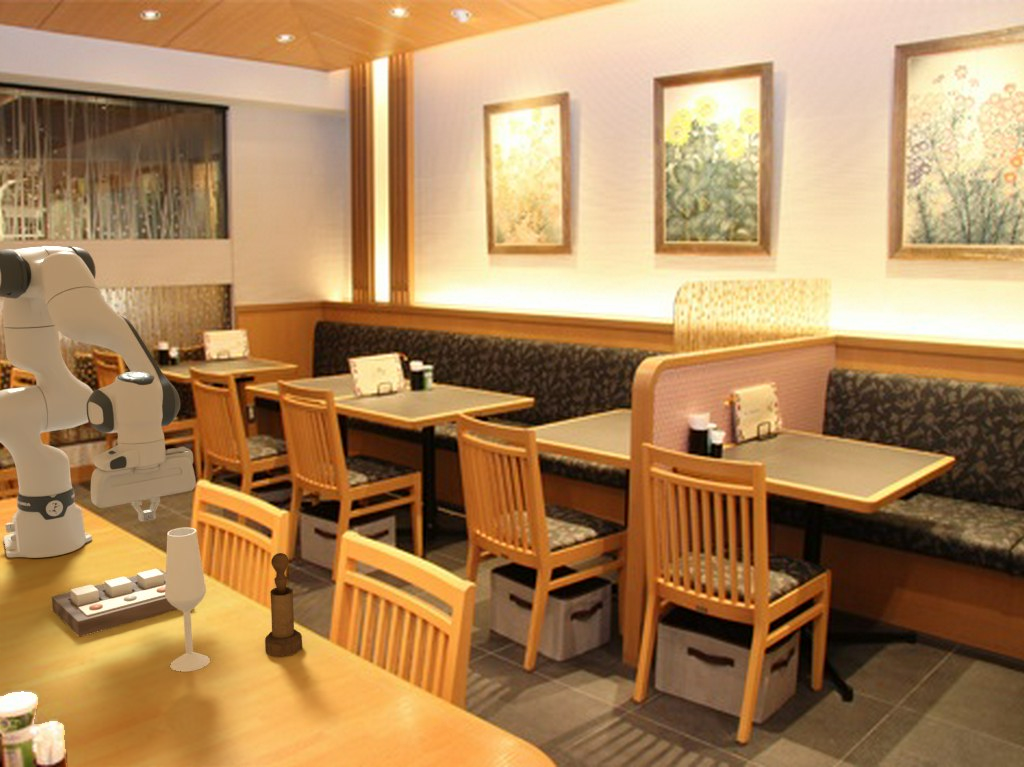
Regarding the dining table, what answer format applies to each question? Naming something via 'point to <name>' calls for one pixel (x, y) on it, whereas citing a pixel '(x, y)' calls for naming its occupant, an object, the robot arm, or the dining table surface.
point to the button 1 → (84, 595)
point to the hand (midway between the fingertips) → (147, 519)
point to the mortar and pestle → (282, 614)
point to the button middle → (118, 587)
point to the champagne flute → (185, 589)
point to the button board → (109, 618)
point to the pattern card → (123, 601)
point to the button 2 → (150, 578)
